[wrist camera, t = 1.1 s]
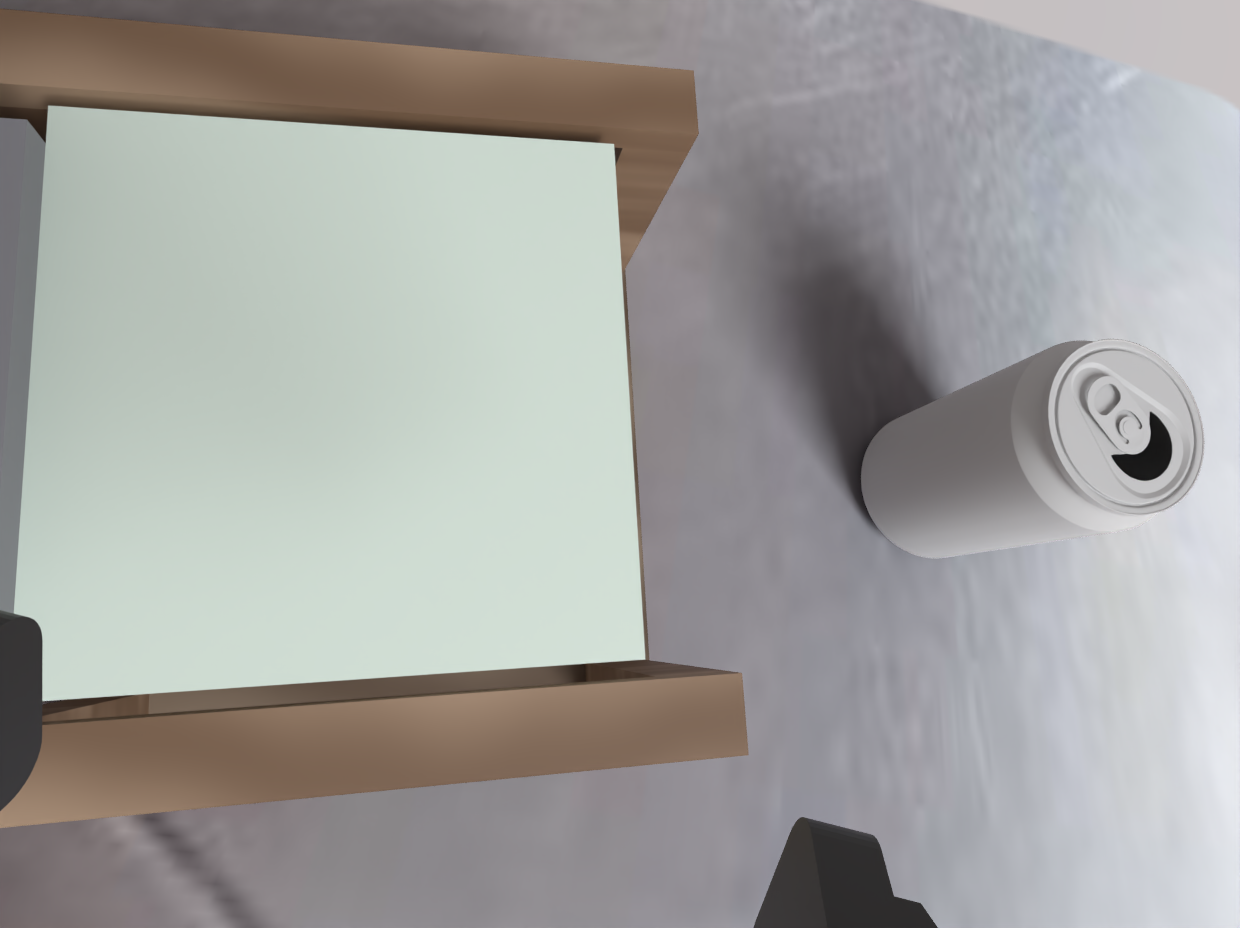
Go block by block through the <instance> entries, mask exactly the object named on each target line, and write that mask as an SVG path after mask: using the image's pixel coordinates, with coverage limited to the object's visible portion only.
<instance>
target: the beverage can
mask: <svg viewBox="0 0 1240 928" xmlns="http://www.w3.org/2000/svg"><path fill="white" fill-rule="evenodd" d="M1203 456H1204V431H1203V425H1202V420H1201V416H1200V412H1199V409H1198V407H1197V404H1196V402H1195V399H1194V397H1193V395H1192V393H1191V391H1190V390H1189V388H1188V386H1187V385H1186V383H1185V382H1184V380H1183V379H1182V378H1181V376H1180V375H1179V374H1178V372H1177V371H1176V370H1175V369H1174V368H1173V367H1172V366H1171V365H1170V364H1169V363H1168V362H1167V361H1165V360H1164V359H1163V358H1162V357H1160V356H1159V355H1158V354H1156V353H1155V352H1153V351H1151V350H1150V349H1148V348H1146V347H1144V346H1142V345H1139V344H1136V343H1134V342H1130V341H1126V340H1120V339H1104V340H1098V341H1094V342H1093V341H1070V342H1065V343H1061V344H1058V345H1055V346H1053V347H1050V348H1048V349H1046V350H1044V351H1042V352H1040V353H1037V354H1035V355H1033V356H1031V357H1029V358H1027V359H1024V360H1022V361H1020V362H1018V363H1016V364H1014V365H1011V366H1009V367H1007V368H1005V369H1003V370H1001V371H998V372H996V373H994V374H992V375H990V376H988V377H985V378H983V379H981V380H979V381H977V382H975V383H972V384H970V385H968V386H966V387H964V388H962V389H959V390H957V391H955V392H953V393H951V394H949V395H946V396H944V397H942V398H940V399H938V400H936V401H933V402H931V403H929V404H927V405H925V406H923V407H920V408H918V409H916V410H914V411H912V412H910V413H907V414H905V415H903V416H901V417H899V418H897V419H895V420H893V421H891V422H889V423H888V424H887V425H885V426H884V427H883V428H882V429H881V430H880V431H879V432H878V433H877V434H876V435H875V436H874V438H873V439H872V441H871V442H870V444H869V446H868V448H867V450H866V453H865V456H864V459H863V463H862V470H861V487H862V494H863V498H864V502H865V505H866V507H867V510H868V512H869V514H870V516H871V518H872V520H873V522H874V523H875V525H876V526H877V527H878V529H879V530H880V531H881V533H882V534H883V535H884V536H885V537H886V538H887V539H888V540H890V541H891V542H892V543H893V544H895V545H896V546H898V547H899V548H901V549H902V550H904V551H906V552H909V553H911V554H913V555H916V556H920V557H925V558H946V557H953V556H959V555H966V554H973V553H980V552H986V551H993V550H1000V549H1007V548H1014V547H1020V546H1027V545H1034V544H1041V543H1047V542H1054V541H1061V540H1068V539H1074V538H1081V537H1088V536H1095V535H1102V534H1108V533H1115V532H1121V531H1125V530H1129V529H1133V528H1136V527H1139V526H1141V525H1143V524H1144V523H1146V522H1148V521H1149V520H1151V519H1152V518H1153V517H1155V516H1156V515H1157V514H1158V513H1159V512H1162V511H1165V510H1168V509H1169V508H1171V507H1173V506H1174V505H1176V504H1177V503H1179V502H1180V501H1181V500H1182V499H1183V498H1184V497H1185V496H1186V495H1187V494H1188V493H1189V491H1190V490H1191V488H1192V487H1193V485H1194V484H1195V482H1196V480H1197V477H1198V475H1199V473H1200V470H1201V466H1202V461H1203Z"/></svg>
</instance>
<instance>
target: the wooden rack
mask: <svg viewBox="0 0 1240 928" xmlns="http://www.w3.org/2000/svg"><path fill="white" fill-rule="evenodd" d="M48 106H63V107H77V108H92V109H107V110H122V111H136V112H151V113H166V114H180V115H195V116H210V117H224V118H239V119H254V120H269V121H283V122H298V123H313V124H327V125H342V126H357V127H371V128H386V129H401V130H416V131H430V132H445V133H460V134H474V135H489V136H504V137H519V138H533V139H548V140H563V141H577V142H592V143H607V144H614V151H615V167H616V184H617V200H618V217H619V233H620V250H621V266H622V282H623V299H624V315H625V332H626V348H627V365H628V381H629V397H630V414H631V430H632V447H633V463H634V480H635V496H636V512H637V529H638V545H639V562H640V578H641V595H642V611H643V627H644V644H645V660H631V661H616V662H602V663H587V664H573V665H558V666H544V667H529V668H515V669H500V670H486V671H471V672H457V673H442V674H428V675H414V676H399V677H385V678H370V679H356V680H341V681H327V682H312V683H298V684H283V685H269V686H254V687H240V688H225V689H211V690H196V691H182V692H167V693H153V694H139V695H124V696H110V697H95V698H81V699H67V700H64V701H59V702H54V703H48V704H43V705H42V744H41V749H40V752H39V756H38V759H37V761H36V764H35V766H34V768H33V770H32V772H31V774H30V776H29V778H28V779H27V781H26V783H25V784H24V786H23V787H22V788H21V790H20V791H19V792H18V794H17V795H16V796H15V797H14V798H13V799H12V800H11V802H10V803H9V804H8V805H7V806H5V807H4V808H3V809H2V810H1V811H0V828H4V827H14V826H25V825H35V824H45V823H56V822H66V821H76V820H86V819H97V818H107V817H117V816H128V815H138V814H148V813H158V812H169V811H179V810H189V809H199V808H210V807H220V806H230V805H241V804H251V803H261V802H271V801H282V800H292V799H302V798H313V797H323V796H333V795H343V794H354V793H364V792H374V791H384V790H395V789H405V788H415V787H426V786H436V785H446V784H456V783H467V782H477V781H487V780H498V779H508V778H518V777H528V776H539V775H549V774H559V773H569V772H580V771H590V770H600V769H611V768H621V767H631V766H641V765H652V764H662V763H672V762H683V761H693V760H703V759H713V758H724V757H734V756H744V755H748V742H747V730H746V718H745V705H744V693H743V680H742V673H738V672H731V671H723V670H716V669H709V668H701V667H694V666H686V665H679V664H672V663H664V662H657V661H649V649H648V633H647V617H646V600H645V584H644V568H643V552H642V535H641V519H640V503H639V487H638V471H637V454H636V438H635V422H634V406H633V389H632V373H631V357H630V341H629V324H628V308H627V292H626V276H625V268H626V266H627V264H628V262H629V261H630V259H631V257H632V255H633V253H634V251H635V250H636V248H637V246H638V244H639V242H640V240H641V239H642V237H643V235H644V233H645V231H646V229H647V228H648V226H649V224H650V222H651V220H652V218H653V217H654V215H655V213H656V211H657V209H658V207H659V206H660V204H661V202H662V200H663V198H664V196H665V195H666V193H667V191H668V189H669V187H670V185H671V184H672V182H673V180H674V178H675V176H676V174H677V173H678V171H679V169H680V167H681V165H682V163H683V162H684V160H685V158H686V156H687V154H688V152H689V151H690V149H691V147H692V145H693V143H694V141H695V140H696V138H697V136H698V134H699V132H698V119H697V107H696V94H695V82H694V71H692V70H681V69H670V68H658V67H647V66H636V65H625V64H614V63H602V62H591V61H580V60H569V59H558V58H546V57H535V56H524V55H513V54H502V53H490V52H479V51H468V50H457V49H446V48H435V47H423V46H412V45H401V44H390V43H379V42H367V41H356V40H345V39H334V38H323V37H311V36H300V35H289V34H278V33H267V32H255V31H244V30H233V29H222V28H211V27H199V26H188V25H177V24H166V23H155V22H143V21H132V20H121V19H110V18H99V17H87V16H76V15H65V14H54V13H43V12H31V11H20V10H9V9H0V118H11V119H26V120H28V122H29V123H30V124H31V125H32V127H33V128H34V129H35V130H36V132H37V133H38V134H39V136H40V137H41V138H42V139H43V141H44V142H45V143H46V132H47V117H48Z"/></svg>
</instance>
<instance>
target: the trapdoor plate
mask: <svg viewBox="0 0 1240 928" xmlns="http://www.w3.org/2000/svg"><path fill="white" fill-rule="evenodd" d="M0 610H2V611H6V612H10V613H14V614H18V615H22V616H26V617H30V618H32V619H34V620H35V621H36V622H37V623H38V625H39V626H40V628H41V632H42V640H43V649H42V701H52V700H66V699H81V698H95V697H110V696H124V695H139V694H153V693H167V692H182V691H196V690H211V689H225V688H240V687H254V686H269V685H283V684H298V683H312V682H327V681H341V680H356V679H370V678H385V677H399V676H414V675H428V674H442V673H457V672H471V671H486V670H500V669H515V668H529V667H544V666H558V665H573V664H587V663H602V662H616V661H631V660H645V644H644V627H643V611H642V595H641V578H640V562H639V545H638V529H637V512H636V496H635V480H634V463H633V447H632V430H631V414H630V397H629V381H628V365H627V348H626V332H625V315H624V299H623V282H622V266H621V250H620V233H619V217H618V200H617V184H616V167H615V151H614V144H607V143H592V142H577V141H563V140H548V139H533V138H519V137H504V136H489V135H474V134H460V133H445V132H430V131H416V130H401V129H386V128H371V127H357V126H342V125H327V124H313V123H298V122H283V121H269V120H254V119H239V118H224V117H210V116H195V115H180V114H166V113H151V112H136V111H122V110H107V109H92V108H77V107H63V106H48V117H47V132H46V143H45V142H44V141H43V139H42V138H41V137H40V136H39V134H38V133H37V132H36V130H35V129H34V128H33V127H32V125H31V124H30V123H29V122H28V120H26V119H11V118H0Z"/></svg>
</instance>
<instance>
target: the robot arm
mask: <svg viewBox="0 0 1240 928" xmlns="http://www.w3.org/2000/svg"><path fill="white" fill-rule="evenodd" d="M42 649H43V640H42V632H41V628H40V626H39V625H38V623H37V622H36V621H35V620H34V619H32V618H30V617H26V616H22V615H18V614H14V613H10V612H6V611H2V610H0V811H1V810H2V809H3V808H4V807H5V806H7V805H8V804H9V803H10V802H11V800H12V799H13V798H14V797H15V796H16V795H17V794H18V792H19V791H20V790H21V788H22V787H23V786H24V784H25V783H26V781H27V779H28V778H29V776H30V774H31V772H32V770H33V768H34V766H35V764H36V761H37V759H38V756H39V752H40V749H41V744H42ZM754 928H938V927H937V926H936V925H935V923H934V922H933V920H932V919H931V917H930V916H929V914H928V913H927V912H926V910H925V909H924V907H923V906H922V904H921V903H917V902H914V901H910V900H906V899H902V898H898V897H894V895H893V891H892V888H891V884H890V880H889V876H888V873H887V869H886V865H885V862H884V858H883V854H882V850H881V847H880V844H879V842H878V840H877V839H876V838H875V837H874V836H873V835H871V834H867V833H863V832H859V831H855V830H851V829H848V828H844V827H840V826H836V825H832V824H828V823H824V822H820V821H816V820H812V819H808V818H804V817H802V818H800V819H798V820H797V821H796V823H795V824H794V826H793V828H792V830H791V832H790V835H789V837H788V840H787V842H786V845H785V848H784V850H783V853H782V855H781V858H780V860H779V863H778V865H777V868H776V871H775V873H774V876H773V878H772V881H771V883H770V886H769V889H768V891H767V894H766V896H765V899H764V901H763V904H762V906H761V909H760V912H759V914H758V917H757V919H756V922H755V925H754Z"/></svg>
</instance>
